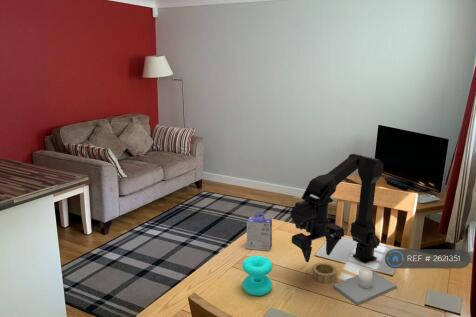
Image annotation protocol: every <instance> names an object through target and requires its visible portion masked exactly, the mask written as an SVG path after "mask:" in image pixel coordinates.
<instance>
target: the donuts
mask: <svg viewBox="0 0 476 317" xmlns="http://www.w3.org/2000/svg"><path fill="white" fill-rule="evenodd" d="M241 265H242V269H243V271H244V273H246V275H247V276H246V277H245V278H244V279H243V281H242V288H243V290H244V291H245V292H246V293H247V294H250V295H251V296H263V295H267V294H268V293H269V292H271V291H272V289H273V281H272V279H271V278H270V277H268V276H267V275H269V274H270V273H271V272H272V270H273V267H274V264H273V263H272V261H271V260H270V258H268V257H265V256H262V255H252V256H249V257H246V258H245V259H244V261H242V264H241Z"/></svg>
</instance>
